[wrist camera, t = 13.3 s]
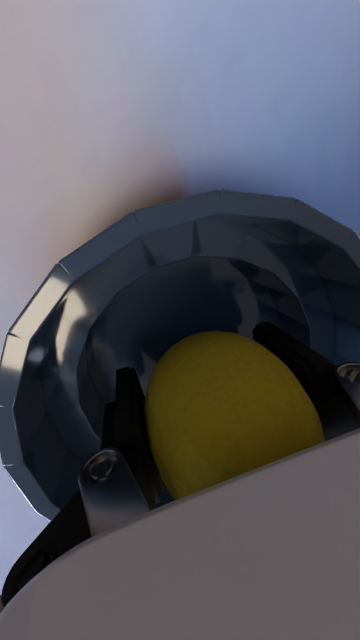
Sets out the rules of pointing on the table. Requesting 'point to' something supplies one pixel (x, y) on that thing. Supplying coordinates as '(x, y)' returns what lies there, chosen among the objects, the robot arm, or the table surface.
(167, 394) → the lemon
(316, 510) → the robot arm
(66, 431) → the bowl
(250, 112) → the table surface
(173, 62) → the table surface
